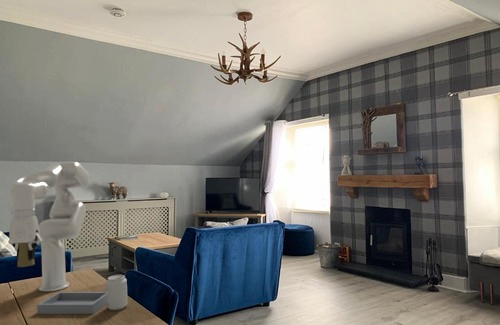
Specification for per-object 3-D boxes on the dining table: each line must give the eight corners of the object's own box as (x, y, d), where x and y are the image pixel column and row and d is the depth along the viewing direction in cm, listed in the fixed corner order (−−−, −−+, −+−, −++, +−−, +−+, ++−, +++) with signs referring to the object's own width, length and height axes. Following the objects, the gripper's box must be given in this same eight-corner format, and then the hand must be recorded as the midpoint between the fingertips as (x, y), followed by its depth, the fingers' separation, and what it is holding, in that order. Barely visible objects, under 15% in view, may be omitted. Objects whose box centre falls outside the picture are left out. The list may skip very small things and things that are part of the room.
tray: (37, 313, 144) (37, 304, 144) (59, 300, 158) (59, 292, 158) (93, 313, 142) (92, 304, 142) (110, 300, 156) (110, 291, 156)
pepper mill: (16, 267, 148) (15, 239, 148) (17, 264, 153) (16, 237, 153) (34, 265, 151) (33, 237, 151) (35, 262, 156) (34, 235, 156)
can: (121, 311, 143) (120, 279, 143) (103, 310, 145) (102, 279, 145) (131, 304, 151) (130, 274, 151) (114, 303, 152) (113, 273, 152)
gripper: (-3, 215, 149) (-1, 262, 149) (38, 214, 147) (39, 261, 147) (11, 213, 156) (13, 257, 156) (50, 212, 155) (51, 257, 155)
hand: (26, 259), depth 152 cm, fingers closed on pepper mill, 4 cm apart
